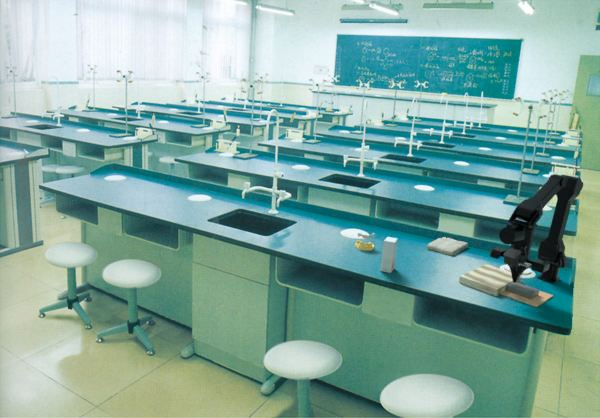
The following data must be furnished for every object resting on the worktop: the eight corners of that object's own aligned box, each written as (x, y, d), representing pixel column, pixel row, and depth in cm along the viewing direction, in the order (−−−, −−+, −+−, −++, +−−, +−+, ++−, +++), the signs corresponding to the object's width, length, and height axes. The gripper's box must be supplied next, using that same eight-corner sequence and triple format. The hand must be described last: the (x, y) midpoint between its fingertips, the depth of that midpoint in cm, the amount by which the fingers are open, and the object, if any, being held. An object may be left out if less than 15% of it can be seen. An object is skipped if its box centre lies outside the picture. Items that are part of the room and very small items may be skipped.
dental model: (373, 246, 213) (375, 231, 211) (374, 251, 206) (376, 236, 204) (355, 244, 214) (356, 229, 212) (355, 249, 207) (356, 234, 205)
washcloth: (468, 247, 220) (469, 241, 219) (452, 257, 206) (453, 250, 205) (442, 241, 227) (443, 234, 226) (425, 250, 213) (426, 243, 212)
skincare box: (391, 273, 184) (395, 242, 181) (379, 271, 185) (383, 240, 182) (394, 268, 189) (398, 238, 186) (383, 265, 191) (386, 236, 188)
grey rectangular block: (512, 286, 178) (513, 281, 178) (538, 295, 172) (539, 289, 171) (505, 290, 174) (506, 285, 174) (531, 299, 168) (532, 294, 167)
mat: (517, 284, 181) (517, 283, 181) (552, 296, 173) (553, 295, 173) (499, 293, 172) (500, 292, 172) (536, 307, 163) (536, 306, 163)
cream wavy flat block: (485, 270, 193) (486, 264, 192) (520, 282, 183) (522, 276, 183) (458, 282, 180) (459, 276, 179) (495, 296, 170) (497, 289, 169)
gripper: (485, 236, 172) (478, 278, 176) (540, 252, 159) (531, 297, 163) (500, 231, 179) (493, 271, 183) (554, 246, 166) (545, 289, 170)
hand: (514, 282), depth 175 cm, fingers closed
